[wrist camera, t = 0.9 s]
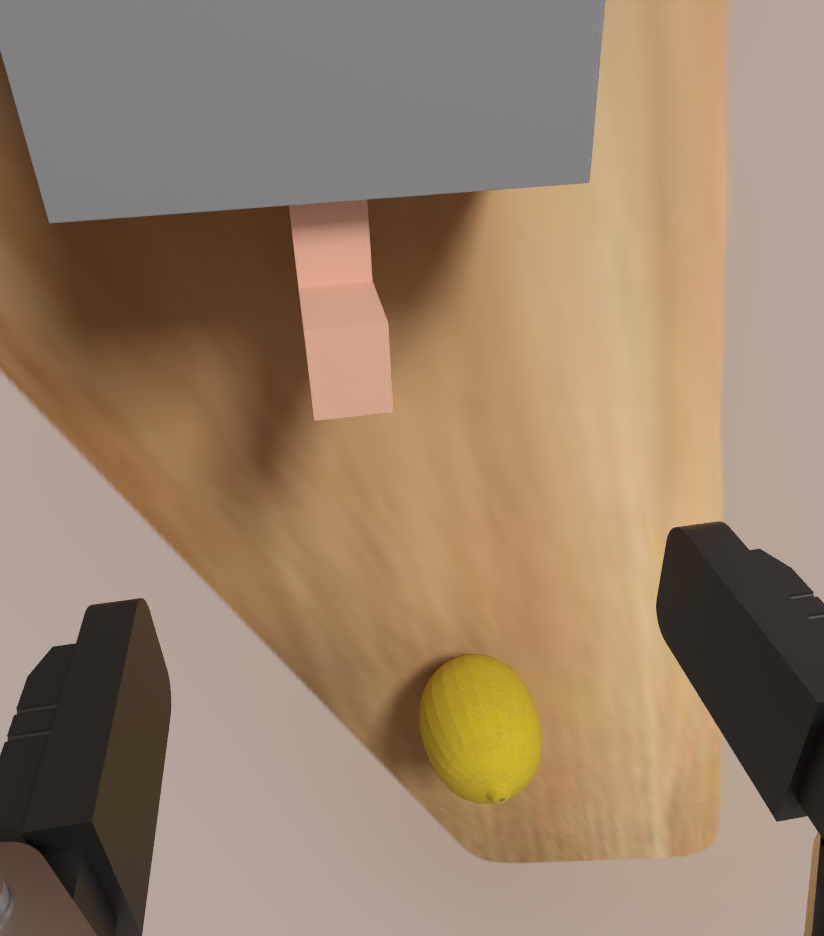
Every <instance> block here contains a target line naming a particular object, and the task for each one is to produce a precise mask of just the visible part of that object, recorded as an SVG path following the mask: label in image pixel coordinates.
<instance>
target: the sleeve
mask: <svg viewBox="0 0 824 936" xmlns="http://www.w3.org/2000/svg"><path fill="white" fill-rule="evenodd" d="M604 8H605V0H0V51H1V55H2V58H3V62H4V65H5V69H6V72H7V76H8V79H9V83H10V86H11V90H12V93H13V97H14V100H15V104H16V107H17V111H18V115H19V118H20V122H21V125H22V129H23V132H24V136H25V139H26V143H27V146H28V150H29V153H30V157H31V160H32V164H33V167H34V171H35V174H36V178H37V182H38V185H39V189H40V192H41V196H42V199H43V203H44V206H45V210H46V213H47V217H48V220H49V223H60V222H74V221H87V220H100V219H114V218H127V217H140V216H154V215H167V214H180V213H194V212H207V211H220V210H234V209H247V208H260V207H274V206H287V205H301V204H314V203H327V202H341V201H354V200H367V199H381V198H394V197H407V196H421V195H434V194H447V193H461V192H474V191H487V190H501V189H514V188H527V187H541V186H554V185H567V184H581V183H589V181H590V170H591V158H592V147H593V135H594V123H595V112H596V100H597V89H598V77H599V66H600V54H601V43H602V31H603V19H604Z"/></svg>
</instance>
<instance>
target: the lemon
mask: <svg viewBox="0 0 824 936" xmlns="http://www.w3.org/2000/svg"><path fill="white" fill-rule="evenodd" d="M419 724H420V732H421V737H422V740H423V744H424V747H425V750H426V753H427V756H428V758H429V760H430V763H431V765H432V767H433V768H434V770H435V772H436V773H437V775H438V776H439V778H440V779H441V780H442V781H443V782H444V784H445V785H446V786H447V787H448V788H449V789H450V790H451V791H452V792H453V793H455V794H457V795H458V796H460V797H462V798H464V799H465V800H469V801H472V802H475V803H481V804H496V803H498V804H500V803H504V802H506V801H507V800H509V799H511V798H513V797H514V796H516V795H517V794H519V793H520V792H521V791H522V790H523V789H525V788H526V786H527V785H528V784H529V783H530V781H531V780H532V779H533V777H534V775H535V773H536V771H537V768H538V766H539V763H540V759H541V752H542V732H541V724H540V719H539V715H538V711H537V708H536V706H535V703H534V700H533V698H532V696H531V693H530V691H529V689H528V688H527V686H526V685H525V683H524V682H523V680H522V679H521V678H520V677H519V676H518V675H517V673H516V672H515V671H514V670H513V669H512V668H511V667H509V666H508V665H506V664H505V663H503V662H501V661H500V660H498V659H496V658H493V657H489V656H486V655H477V654H470V655H462V656H459V657H456V658H454V659H452V660H450V661H448V662H446V663H445V664H444V665H442V666H441V667H440V668H439V669H437V670H436V672H435V673H434V674H433V675H432V677H431V678H430V679H429V681H428V683H427V685H426V687H425V689H424V692H423V694H422V698H421V704H420V715H419Z"/></svg>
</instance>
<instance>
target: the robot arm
mask: <svg viewBox="0 0 824 936" xmlns="http://www.w3.org/2000/svg"><path fill="white" fill-rule="evenodd" d="M656 611H657V619H658V624H659V627H660V630H661V633H662V636H663V638H664V640H665V642H666V643H667V645H668V647H669V648H670V650H671V651H672V653H673V655H674V656H675V658H676V659H677V661H678V663H679V664H680V666H681V668H682V669H683V671H684V672H685V674H686V676H687V677H688V679H689V681H690V682H691V684H692V685H693V687H694V689H695V690H696V692H697V693H698V695H699V697H700V698H701V700H702V702H703V703H704V705H705V706H706V708H707V710H708V711H709V713H710V714H711V716H712V718H713V719H714V721H715V723H716V724H717V726H718V727H719V729H720V731H721V732H722V734H723V735H724V737H725V739H726V740H727V742H728V743H729V745H730V747H731V748H732V750H733V752H734V753H735V755H736V756H737V758H738V760H739V761H740V763H741V765H742V766H743V767H744V769H745V771H746V773H747V774H748V776H749V777H750V779H751V781H752V782H753V784H754V786H755V787H756V789H757V790H758V792H759V794H760V795H761V797H762V799H763V800H764V802H765V803H766V805H767V807H768V808H769V810H770V811H771V813H772V815H773V816H774V818H775V820H776V821H783V820H788V819H794V818H799V817H805V816H808V817H809V819H810V820H811V821H812V823H813V825H814V826H815V827H816V829H817V831H818V833H817V835H816V837H815V840H814V844H813V851H812V861H811V872H810V882H809V892H808V902H807V913H806V923H805V933H804V936H824V603H823V602H822V601H821V600H820V599H819V598H818V597H814V595H813V591H812V590H811V589H810V588H809V587H808V586H807V585H806V583H805V582H803V580H802V579H801V578H800V577H799V576H798V575H797V574H796V573H795V571H794V570H793V569H792V568H791V567H789V566H787V565H786V564H784V563H782V562H780V561H779V560H777V559H776V558H774V557H772V556H771V555H769V554H767V553H766V552H764V551H763V550H761V549H755V550H749V549H748V548H747V547H746V546H745V545H744V543H743V542H742V541H741V540H740V539H739V538H738V537H737V535H736V534H735V533H734V532H733V531H732V530H731V529H730V527H729V526H727V525H726V524H725V523H723V522H711V523H704V524H696V525H689V526H682V527H675V528H673V529H672V530H671V531H670V532H669V534H668V537H667V542H666V548H665V554H664V560H663V565H662V571H661V577H660V583H659V589H658V595H657V602H656ZM170 715H171V690H170V683H169V676H168V671H167V668H166V665H165V661H164V658H163V654H162V651H161V647H160V644H159V641H158V638H157V634H156V631H155V627H154V624H153V621H152V617H151V614H150V610H149V607H148V605H147V603H146V601H145V600H144V599H143V598H139V599H133V600H125V601H117V602H110V603H103V604H95V605H90V606H89V607H88V608H87V610H86V612H85V615H84V618H83V622H82V625H81V629H80V632H79V636H78V639H77V642H76V644H69V645H62V646H55V647H52V648H51V650H50V651H49V652H48V653H47V654H46V655H45V657H44V658H43V659H42V660H41V661H40V662H39V664H38V665H37V666H36V667H35V669H34V670H33V671H32V672H31V673H30V674H29V676H28V677H27V680H26V683H25V686H24V689H23V691H22V694H21V697H20V700H19V703H18V706H17V715H14V717H13V720H12V723H11V726H10V729H9V732H8V735H7V736H8V741H7V742H5V743H4V746H3V749H2V752H1V755H0V936H142V931H143V923H144V916H145V908H146V900H147V893H148V884H149V877H150V870H151V862H152V854H153V846H154V839H155V831H156V823H157V816H158V807H159V800H160V793H161V784H162V777H163V769H164V762H165V754H166V747H167V738H168V731H169V723H170Z"/></svg>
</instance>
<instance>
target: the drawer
mask: <svg viewBox="0 0 824 936" xmlns="http://www.w3.org/2000/svg"><path fill="white" fill-rule="evenodd" d="M289 211H290V219H291V228H292V239H293V247H294V256H295V264H296V273H297V281H298V290H299V298H300V307H301V315H302V323H303V332H304V340H305V348H306V356H307V365H308V373H309V381H310V389H311V397H312V406H313V414H314V421H316V420H325V419H334V418H344V417H353V416H362V415H371V414H380V413H390V412H393V401H392V383H391V364H390V345H389V326H388V321H387V318H386V316H385V313H384V310H383V307H382V305H381V302H380V299H379V297H378V294H377V291H376V289H375V286H374V283H373V280H372V264H371V249H370V233H369V217H368V201H367V200H354V201H341V202H327V203H314V204H301V205H289Z"/></svg>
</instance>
